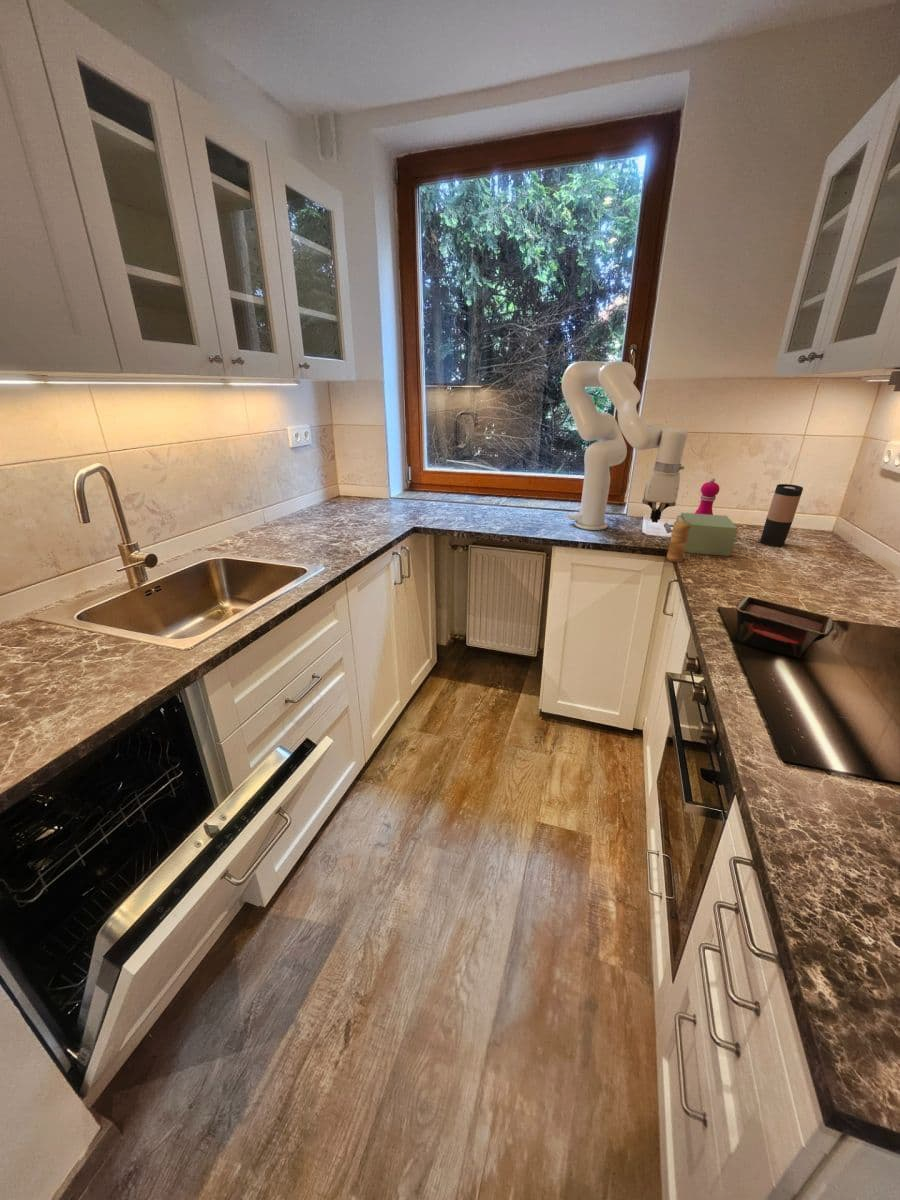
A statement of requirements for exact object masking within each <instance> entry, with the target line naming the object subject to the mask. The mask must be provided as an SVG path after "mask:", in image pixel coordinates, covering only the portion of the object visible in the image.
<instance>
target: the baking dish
mask: <svg viewBox="0 0 900 1200" xmlns="http://www.w3.org/2000/svg"><path fill="white" fill-rule="evenodd" d="M736 626H737V629H736V630H737V642H738V643H740V644H744V645H747V646H751V647H753V648H758V649H762V650H765V651H768V652H774V653H777V654H780V655H785V656H788V657H791V658H792V657H793V658H797V659H801V658H802V654H803V652H805V650H807V648H808V647H809V646H810V645H811V644H812V643H815V642H818V641H821V640H823V639H824V638H827V637H829V636H830V634H831V633H832V631H834V628H835V622H834V619H833V617H831V615H827V614H822V613H819V612H814V611H810V610H807V609H802V608H798V607H794V606H790V605H786V604H781V603H778V602H773V601H770V600H766V599H761V598H757V597H753V596H745V597H743V598H741V599H740V601H739V602H738V603H737V604H736Z"/></svg>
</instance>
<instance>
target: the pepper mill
mask: <svg viewBox="0 0 900 1200" xmlns="http://www.w3.org/2000/svg"><path fill="white" fill-rule="evenodd" d="M720 489H721V488H720V485H719V484H718V483H716V478H715V477H711V478H710V479H709V481H708V482H705V483H703V484H702V485H701V488H700V492H701V494H700V497H699V498H700V503H699V506H698V508H697V509H696V511H695V512H694V513H693V514H708V515H714V513H713V504H714V502H715V501H716V498H717V495H718V494H719V493H720Z"/></svg>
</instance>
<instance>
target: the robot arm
mask: <svg viewBox="0 0 900 1200" xmlns="http://www.w3.org/2000/svg"><path fill="white" fill-rule="evenodd" d="M636 377H637V372H636V368H635V367H634V365H632V364H631V363H630V362H628V361H597V360H594V361H592V360H580V361H575V362H573V363H571V364H569V366H567V368H566V369H565V370H564V372H563V374H562V379H561V393H562V395H563V398H564V400H565V403H566V405H567V407H568V409H569V411H570V413H571V416H572V419H573V421H574V424H575V427H576V430H577V432H578V435H579V436H580V438H581V440H583V441H585V442H586V441H587V442H591V441H592V442H593V441H595V442H593V443H591V444H590V445H588V447H587V448H586V450H585V452H584V456H583V460H584V461H583V462H584V476H583V483H582V491H581V493H582V494H581V501H580V509H579V511H578V513H577V512H576V513H567V516H566V517H567V519H570V521H571V520H572V521H573V520H574V526H575V527H577V528H579V529H582V530H588V531H602V530H605V529H607V528H608V527H609V524H608V522H607V521H605V518H606V511H607V506H608V505H607V504H608V499H609V493H610V486H611V485H610V484H611V472H610V467H614V466H617V465H621V464H622V463H623V462H624V461H625V460H626V458H627V455H628V447H627V444H626V441H627V443H628V444H629V446H631V447H632V448H633V449H634V450H637V451H644V450H650V449H651V450H652V449H658V450H657V454H656V458H655V463H654V468H653V469H652V470H650V472H649V475H648V476H647V481H646V484H645V487H644V490H643V498H642V500H641V503H642V505H643V504H644V505H646V506H649V508H650V509H651V512H650V516H649V518H650V520H651V522H652V523H656V524H657V523H658V521H660V520H661V517H662V512H663V511H664V510H665V509H667V508H672V507H676V504H677V503H676V502H677V500H678V494H679V489H680V482H681V473H680V471H682V470H684V469H685V465H684V464H682V459H683V454H684V450H685V447H686V442H687V437H688V430H687V429H684V428H681V427H669V426H666V425H662V424H657V423H655V424H645V423H644V422H643V420H642V418H641V417H640V415H639V412H638V410H637V404H638V403H639V402H640V400H641V398H642V395H641V392H640V391H639V390H638V388H637V386H636V385H635V384H634V382H635V380H636ZM586 388H602V390H603V391H604V392H605V394H606V395H607V397H608V399H609V400H610V401H611V403H612V405H613V406H614V408H615V410H616V412H617V419H616V418H615V416H613V414H611V413H609V412H599V411H598V409H597V407H596V405H595V401H594V399H593V398H592V396H591V395H590V394H589V392H588V391H587V389H586ZM624 438H625V439H624ZM625 440H626V441H625ZM657 503H659V505H658V507H657Z"/></svg>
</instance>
